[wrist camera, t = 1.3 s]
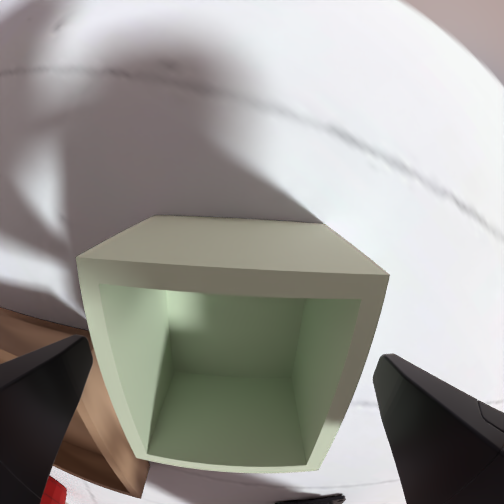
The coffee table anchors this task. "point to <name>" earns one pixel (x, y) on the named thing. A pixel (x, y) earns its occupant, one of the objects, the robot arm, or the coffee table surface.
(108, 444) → the big crate
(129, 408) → the small crate
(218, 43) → the coffee table surface
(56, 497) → the plastic cup
